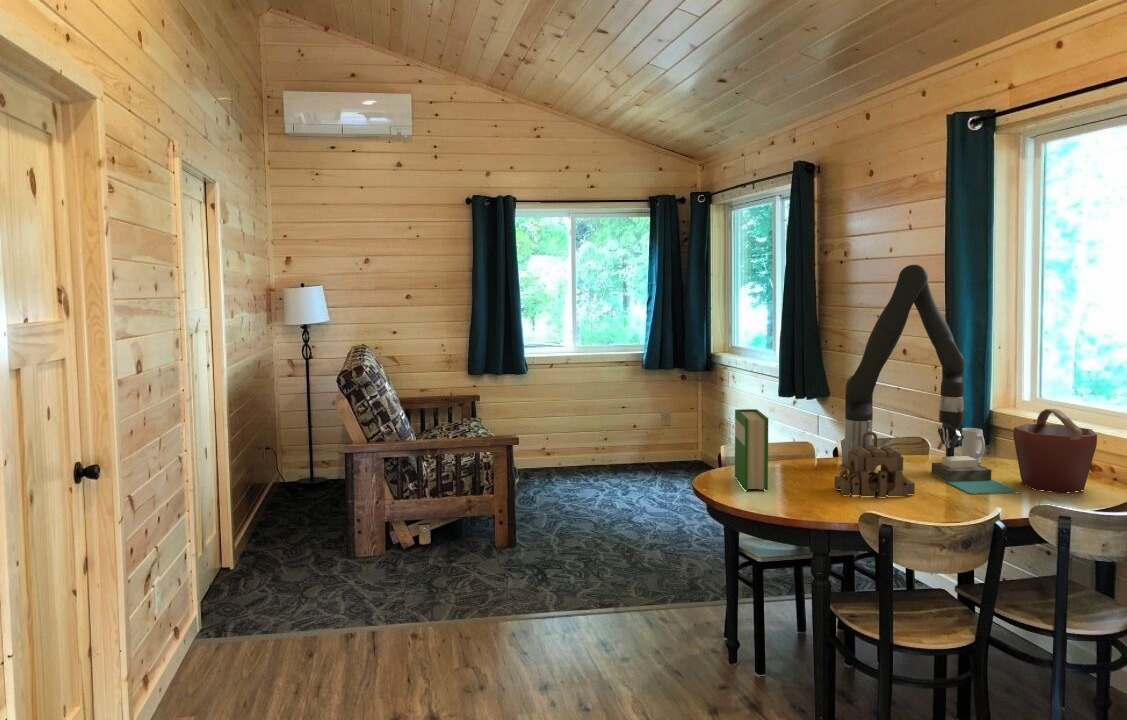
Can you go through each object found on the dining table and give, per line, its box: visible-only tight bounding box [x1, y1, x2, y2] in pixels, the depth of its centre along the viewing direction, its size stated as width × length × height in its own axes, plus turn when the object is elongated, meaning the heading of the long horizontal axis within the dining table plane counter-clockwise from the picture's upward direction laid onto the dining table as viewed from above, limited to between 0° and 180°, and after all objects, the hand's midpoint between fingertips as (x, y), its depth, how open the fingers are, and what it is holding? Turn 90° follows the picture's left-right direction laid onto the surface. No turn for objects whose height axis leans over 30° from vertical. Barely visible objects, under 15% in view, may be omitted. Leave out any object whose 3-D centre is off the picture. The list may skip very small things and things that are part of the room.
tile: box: [941, 455, 978, 468], centre depth 271 cm, size 9×6×2 cm, turn 92°
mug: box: [961, 427, 986, 464], centre depth 291 cm, size 10×7×12 cm, turn 9°
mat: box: [944, 478, 1021, 495], centre depth 258 cm, size 16×15×1 cm
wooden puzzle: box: [834, 431, 916, 498], centre depth 254 cm, size 22×15×19 cm, turn 88°
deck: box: [930, 461, 992, 482], centre depth 270 cm, size 14×12×4 cm
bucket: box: [1012, 408, 1098, 494], centre depth 256 cm, size 24×22×25 cm
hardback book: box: [734, 408, 769, 491], centre depth 265 cm, size 18×7×24 cm, turn 178°
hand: (949, 458), depth 278 cm, fingers closed
